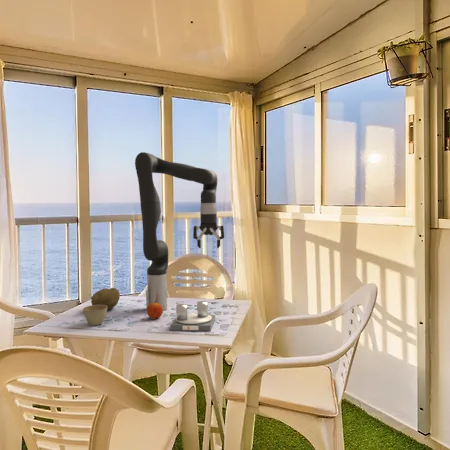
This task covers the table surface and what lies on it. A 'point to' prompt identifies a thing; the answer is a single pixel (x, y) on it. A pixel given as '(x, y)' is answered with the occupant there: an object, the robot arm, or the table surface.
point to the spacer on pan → (181, 312)
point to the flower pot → (95, 314)
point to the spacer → (202, 309)
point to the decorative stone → (106, 297)
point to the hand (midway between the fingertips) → (208, 248)
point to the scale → (194, 323)
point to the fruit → (154, 310)
